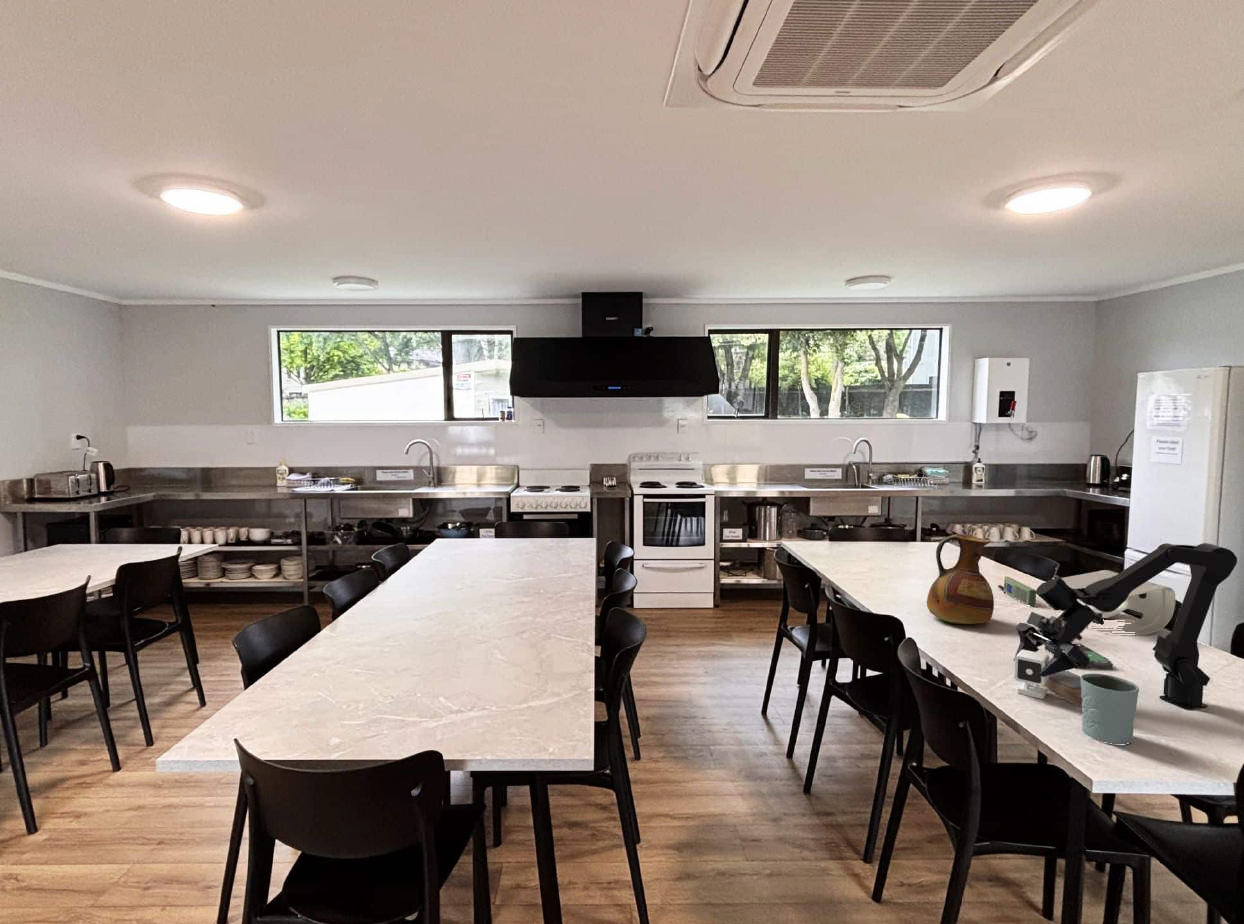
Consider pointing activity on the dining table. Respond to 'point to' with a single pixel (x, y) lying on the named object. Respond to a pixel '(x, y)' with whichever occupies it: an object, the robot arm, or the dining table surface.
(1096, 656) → the disk drive
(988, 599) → the ceramic pitcher
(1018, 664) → the security camera
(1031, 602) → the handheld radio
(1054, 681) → the walnut stand
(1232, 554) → the robot arm
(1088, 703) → the green plant pot
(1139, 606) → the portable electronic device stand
